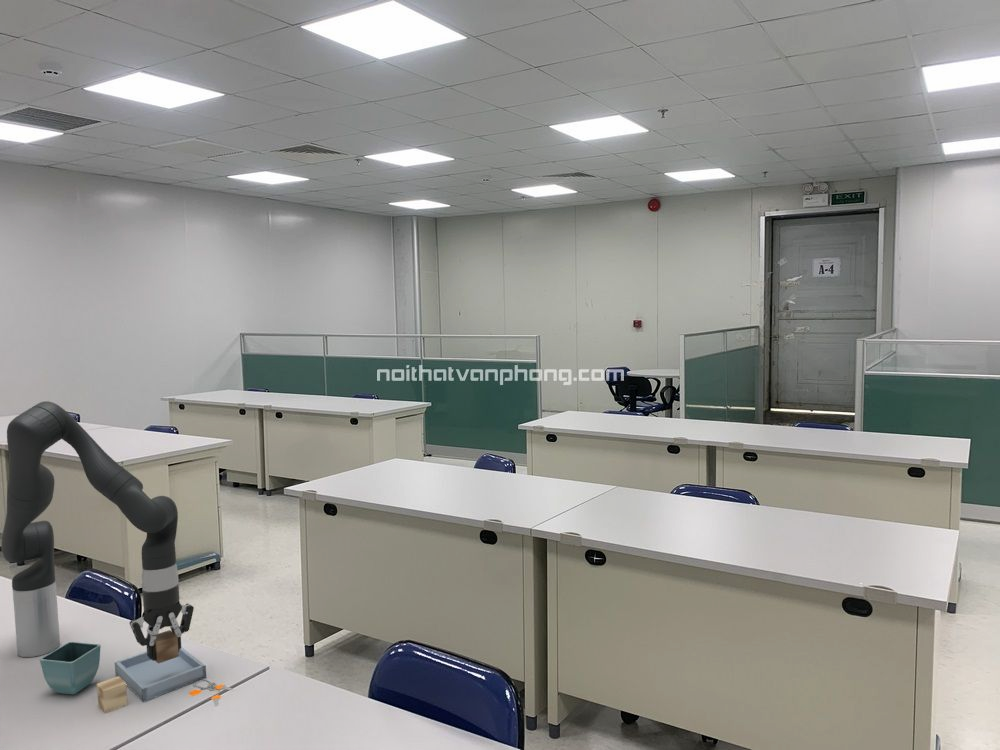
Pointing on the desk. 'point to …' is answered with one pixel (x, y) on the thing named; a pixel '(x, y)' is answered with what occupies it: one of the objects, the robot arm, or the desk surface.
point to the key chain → (218, 687)
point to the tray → (159, 673)
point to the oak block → (112, 694)
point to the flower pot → (71, 666)
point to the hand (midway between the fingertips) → (164, 655)
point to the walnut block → (166, 646)
